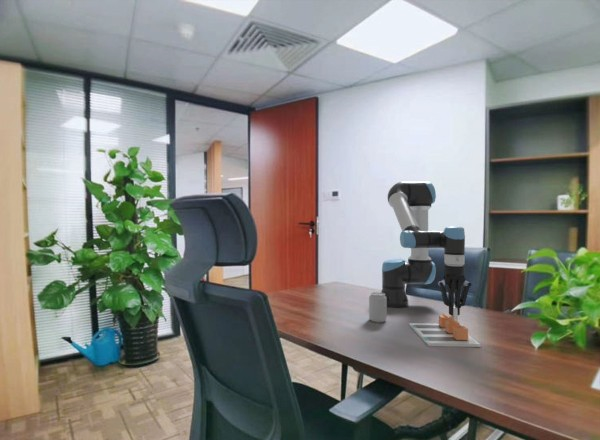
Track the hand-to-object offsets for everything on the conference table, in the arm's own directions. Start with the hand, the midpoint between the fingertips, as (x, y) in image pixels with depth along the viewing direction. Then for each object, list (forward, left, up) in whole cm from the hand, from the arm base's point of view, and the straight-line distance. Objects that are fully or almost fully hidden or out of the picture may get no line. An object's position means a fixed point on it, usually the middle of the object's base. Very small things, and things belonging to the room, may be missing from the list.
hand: (454, 323), depth 136 cm
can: (-11, -29, -3) cm, 31 cm away
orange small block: (0, -4, -1) cm, 4 cm away
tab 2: (+7, -4, -1) cm, 8 cm away
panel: (+7, -8, -3) cm, 11 cm away
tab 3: (+14, -4, -1) cm, 15 cm away
